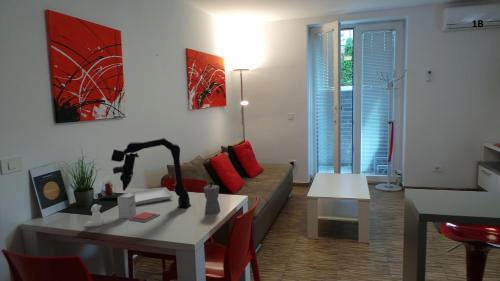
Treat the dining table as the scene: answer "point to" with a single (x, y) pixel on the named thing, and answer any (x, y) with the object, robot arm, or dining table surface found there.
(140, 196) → the square plate
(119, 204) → the supplement box
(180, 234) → the dining table surface
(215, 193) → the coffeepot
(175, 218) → the dining table surface
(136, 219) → the ink pad tray
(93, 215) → the sitting furry creature
